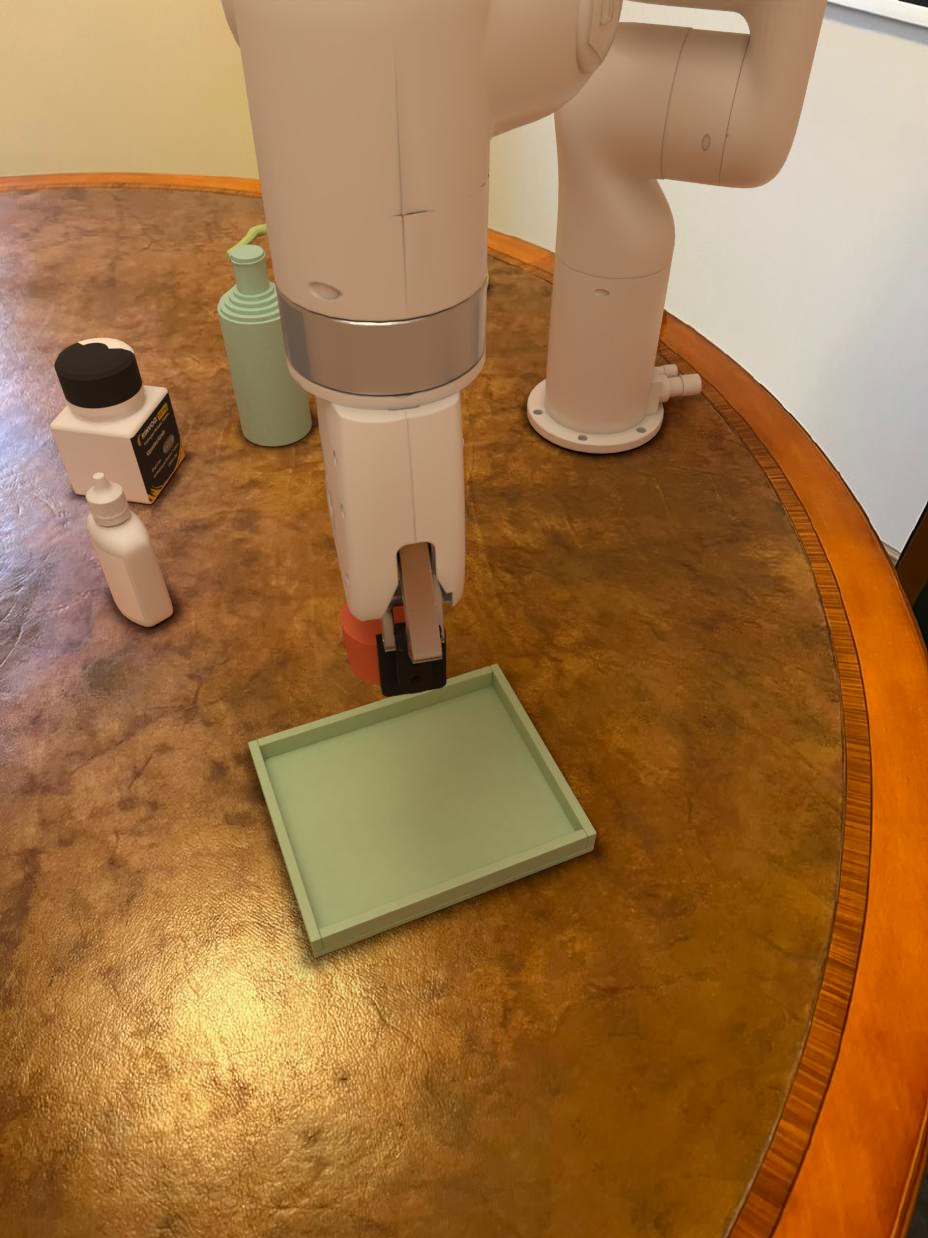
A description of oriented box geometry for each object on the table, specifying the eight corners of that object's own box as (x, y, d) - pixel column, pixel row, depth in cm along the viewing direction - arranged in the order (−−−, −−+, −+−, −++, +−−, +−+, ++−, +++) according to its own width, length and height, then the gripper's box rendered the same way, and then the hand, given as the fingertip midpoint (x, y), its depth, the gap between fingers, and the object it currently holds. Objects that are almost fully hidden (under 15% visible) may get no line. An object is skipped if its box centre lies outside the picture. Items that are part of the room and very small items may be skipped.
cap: (332, 668, 47) (323, 628, 44) (372, 615, 49) (365, 573, 47) (402, 696, 45) (396, 655, 43) (439, 640, 48) (436, 598, 45)
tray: (496, 681, 64) (497, 662, 63) (593, 850, 55) (597, 833, 54) (252, 760, 60) (247, 742, 58) (314, 958, 51) (310, 942, 49)
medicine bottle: (152, 506, 78) (113, 380, 69) (74, 495, 79) (25, 369, 70) (187, 456, 82) (154, 332, 74) (112, 446, 83) (71, 323, 75)
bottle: (307, 403, 88) (283, 230, 76) (315, 441, 84) (291, 265, 72) (239, 411, 87) (204, 237, 75) (244, 450, 83) (207, 273, 71)
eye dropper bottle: (113, 636, 67) (61, 507, 59) (113, 584, 71) (65, 455, 62) (175, 625, 68) (133, 496, 59) (172, 574, 72) (132, 446, 63)
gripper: (265, 234, 39) (313, 557, 52) (305, 466, 28) (354, 804, 41) (438, 218, 40) (444, 538, 54) (545, 435, 29) (519, 774, 42)
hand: (405, 651), depth 47 cm, fingers closed on cap, 4 cm apart
